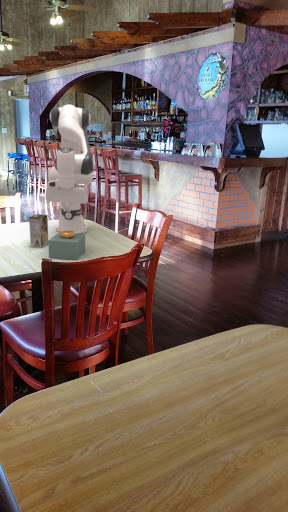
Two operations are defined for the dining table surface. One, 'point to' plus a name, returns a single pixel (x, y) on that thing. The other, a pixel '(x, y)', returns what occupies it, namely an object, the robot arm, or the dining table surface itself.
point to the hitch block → (66, 247)
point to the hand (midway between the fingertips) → (67, 211)
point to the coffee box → (38, 230)
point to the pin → (67, 234)
